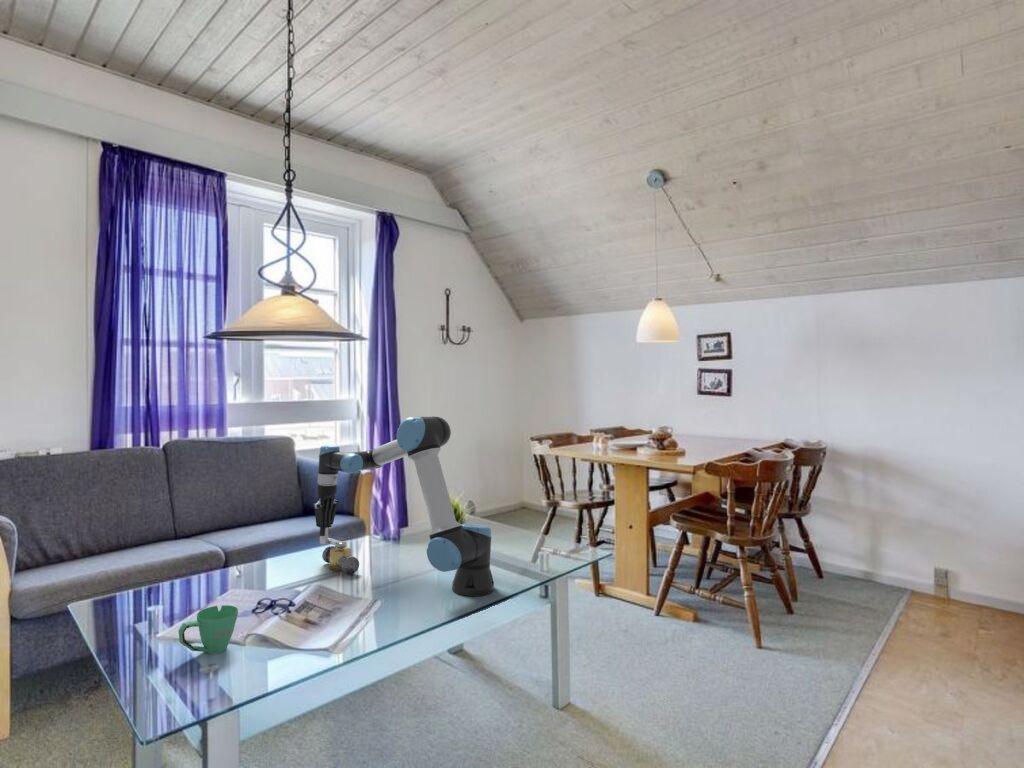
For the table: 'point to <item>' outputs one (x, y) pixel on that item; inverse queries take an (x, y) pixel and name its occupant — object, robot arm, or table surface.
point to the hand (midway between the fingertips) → (323, 543)
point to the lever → (336, 543)
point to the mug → (212, 628)
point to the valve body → (340, 560)
